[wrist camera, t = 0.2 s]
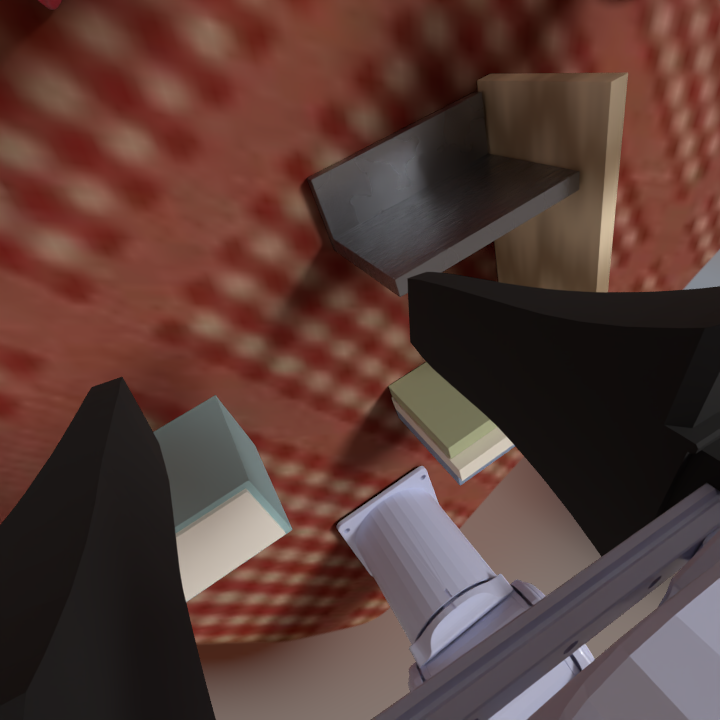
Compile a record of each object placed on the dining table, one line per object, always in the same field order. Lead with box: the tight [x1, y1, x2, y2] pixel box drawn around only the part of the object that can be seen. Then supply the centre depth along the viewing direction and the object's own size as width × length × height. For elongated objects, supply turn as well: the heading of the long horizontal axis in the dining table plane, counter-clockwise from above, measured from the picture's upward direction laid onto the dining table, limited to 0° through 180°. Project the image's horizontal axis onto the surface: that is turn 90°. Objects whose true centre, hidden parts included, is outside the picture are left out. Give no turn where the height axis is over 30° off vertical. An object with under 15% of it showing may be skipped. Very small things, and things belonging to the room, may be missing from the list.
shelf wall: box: [477, 73, 628, 292], centre depth 23 cm, size 18×1×7 cm, turn 19°
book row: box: [388, 362, 515, 485], centre depth 27 cm, size 3×9×7 cm, turn 109°
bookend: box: [307, 92, 580, 297], centre depth 18 cm, size 4×9×6 cm, turn 109°
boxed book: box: [153, 395, 292, 602], centre depth 20 cm, size 4×8×6 cm, turn 109°
